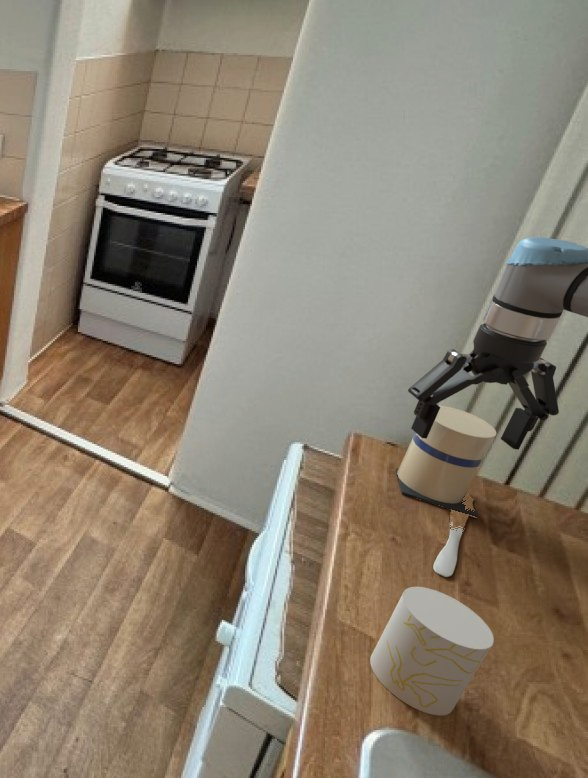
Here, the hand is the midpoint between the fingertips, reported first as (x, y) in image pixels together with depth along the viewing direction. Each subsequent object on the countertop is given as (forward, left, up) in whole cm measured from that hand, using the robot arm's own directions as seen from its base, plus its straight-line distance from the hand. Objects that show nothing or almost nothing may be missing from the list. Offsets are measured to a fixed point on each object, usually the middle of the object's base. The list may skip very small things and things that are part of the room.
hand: (463, 438), depth 104 cm
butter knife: (-1, +10, -13) cm, 16 cm away
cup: (+9, +47, -13) cm, 49 cm away
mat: (0, 0, -13) cm, 13 cm away
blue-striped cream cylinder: (+3, -6, -5) cm, 8 cm away
